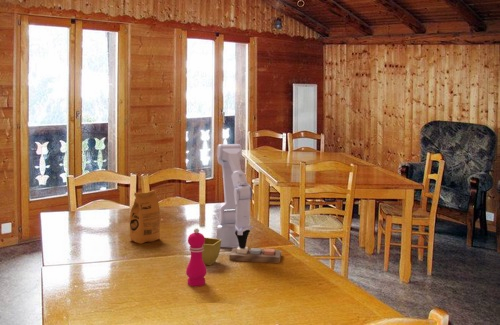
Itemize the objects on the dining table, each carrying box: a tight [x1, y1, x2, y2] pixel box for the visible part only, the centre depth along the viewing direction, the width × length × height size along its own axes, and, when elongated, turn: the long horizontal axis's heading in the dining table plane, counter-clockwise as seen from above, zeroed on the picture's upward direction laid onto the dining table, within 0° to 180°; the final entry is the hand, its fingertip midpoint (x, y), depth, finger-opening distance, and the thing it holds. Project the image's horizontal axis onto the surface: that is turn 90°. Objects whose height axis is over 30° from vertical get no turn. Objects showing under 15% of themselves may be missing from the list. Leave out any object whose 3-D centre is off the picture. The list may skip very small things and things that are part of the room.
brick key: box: [264, 248, 276, 255], centre depth 244 cm, size 4×4×3 cm
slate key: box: [250, 247, 262, 255], centre depth 245 cm, size 4×4×3 cm
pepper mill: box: [185, 228, 208, 287], centre depth 212 cm, size 7×7×20 cm
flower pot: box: [202, 237, 221, 266], centre depth 237 cm, size 9×9×9 cm
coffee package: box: [129, 189, 161, 244], centre depth 268 cm, size 10×12×22 cm
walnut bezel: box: [228, 248, 282, 264], centre depth 245 cm, size 20×10×2 cm, turn 83°
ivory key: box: [237, 246, 249, 254], centre depth 245 cm, size 4×4×3 cm
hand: (242, 248), depth 245 cm, fingers closed, pressing on ivory key
